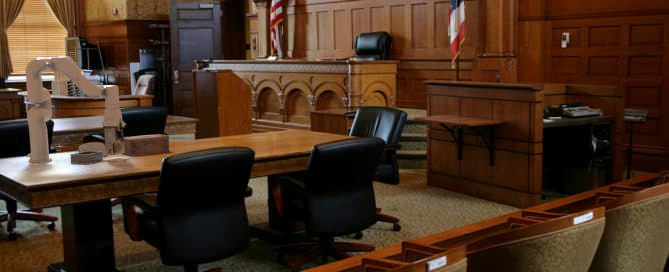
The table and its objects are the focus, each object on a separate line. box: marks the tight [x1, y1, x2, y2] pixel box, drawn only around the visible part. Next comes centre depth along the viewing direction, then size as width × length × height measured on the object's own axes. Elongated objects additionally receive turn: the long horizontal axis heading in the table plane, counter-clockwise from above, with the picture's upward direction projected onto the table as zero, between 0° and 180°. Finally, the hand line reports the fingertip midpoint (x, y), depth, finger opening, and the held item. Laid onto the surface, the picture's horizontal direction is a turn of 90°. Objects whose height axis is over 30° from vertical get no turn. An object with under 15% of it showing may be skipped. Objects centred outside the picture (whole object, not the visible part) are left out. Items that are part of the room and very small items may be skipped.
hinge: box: [77, 141, 109, 157], centre depth 421 cm, size 17×5×10 cm, turn 131°
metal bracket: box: [70, 151, 104, 165], centre depth 402 cm, size 11×14×5 cm
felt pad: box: [99, 156, 131, 162], centre depth 407 cm, size 12×12×1 cm
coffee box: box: [103, 127, 125, 156], centre depth 406 cm, size 9×6×16 cm
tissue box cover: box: [121, 133, 170, 156], centre depth 438 cm, size 26×14×10 cm, turn 130°
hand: (114, 137), depth 406 cm, fingers closed on coffee box, 7 cm apart
